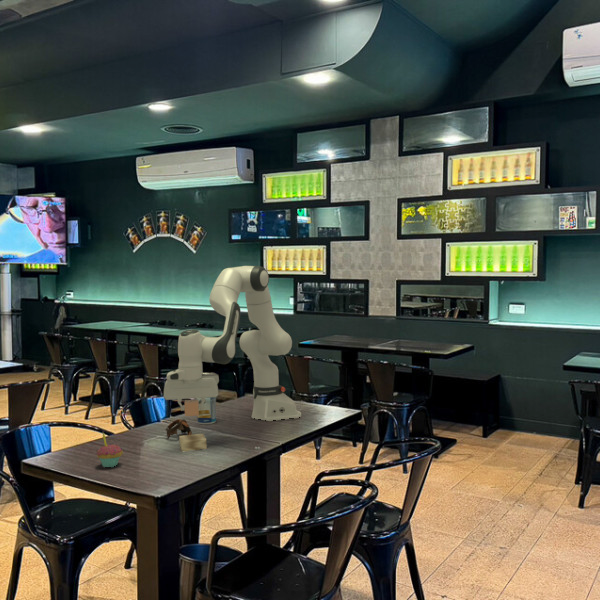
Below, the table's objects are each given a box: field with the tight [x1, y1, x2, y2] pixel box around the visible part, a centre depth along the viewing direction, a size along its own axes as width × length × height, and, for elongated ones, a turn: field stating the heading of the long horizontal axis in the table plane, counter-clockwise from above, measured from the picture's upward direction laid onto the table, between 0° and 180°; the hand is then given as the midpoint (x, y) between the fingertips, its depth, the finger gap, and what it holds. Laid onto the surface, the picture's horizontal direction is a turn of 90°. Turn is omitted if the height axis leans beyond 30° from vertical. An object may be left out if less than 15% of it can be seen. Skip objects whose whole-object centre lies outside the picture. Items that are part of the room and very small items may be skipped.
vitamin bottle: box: [195, 397, 217, 425], centre depth 274 cm, size 8×8×20 cm
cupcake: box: [96, 432, 124, 468], centre depth 215 cm, size 9×8×12 cm
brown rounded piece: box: [165, 418, 193, 438], centre depth 252 cm, size 12×10×8 cm
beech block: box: [178, 433, 208, 452], centre depth 236 cm, size 9×9×4 cm
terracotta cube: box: [184, 399, 199, 417], centre depth 235 cm, size 5×5×5 cm
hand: (191, 410), depth 235 cm, fingers closed on terracotta cube, 5 cm apart
